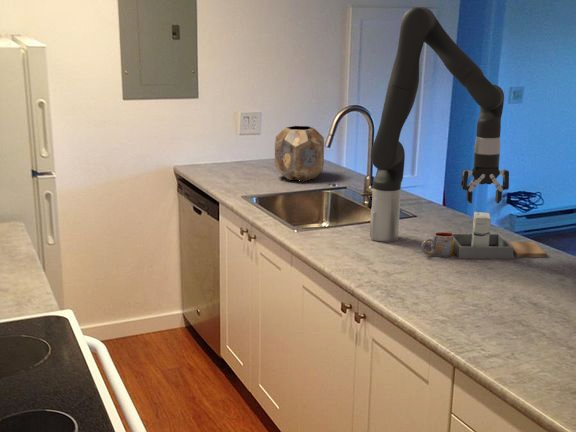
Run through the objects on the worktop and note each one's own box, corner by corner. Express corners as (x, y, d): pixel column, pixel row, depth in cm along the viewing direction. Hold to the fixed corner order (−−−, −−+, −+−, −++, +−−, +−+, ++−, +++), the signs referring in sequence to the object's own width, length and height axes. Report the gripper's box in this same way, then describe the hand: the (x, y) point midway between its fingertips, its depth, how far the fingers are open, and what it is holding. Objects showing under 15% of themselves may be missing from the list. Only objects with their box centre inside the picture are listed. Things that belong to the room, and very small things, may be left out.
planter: (271, 183, 315) (271, 131, 309) (280, 172, 338) (280, 123, 332) (319, 185, 312) (320, 132, 305) (326, 174, 335) (326, 124, 329)
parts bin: (458, 258, 215) (459, 247, 214) (448, 243, 229) (449, 233, 228) (512, 258, 215) (513, 247, 214) (498, 243, 229) (499, 233, 228)
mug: (445, 249, 224) (446, 229, 222) (458, 255, 217) (459, 235, 216) (413, 254, 219) (414, 234, 217) (426, 260, 213) (427, 239, 211)
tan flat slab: (516, 256, 216) (517, 253, 216) (505, 245, 228) (505, 241, 228) (545, 257, 216) (546, 253, 216) (532, 245, 228) (533, 241, 227)
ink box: (488, 255, 217) (491, 219, 214) (472, 254, 218) (475, 218, 215) (486, 247, 226) (489, 211, 223) (470, 246, 227) (473, 211, 223)
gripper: (466, 153, 210) (463, 205, 214) (514, 153, 210) (510, 205, 214) (460, 149, 217) (458, 200, 221) (506, 149, 217) (502, 199, 221)
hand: (483, 202), depth 218 cm, fingers open, 8 cm apart
